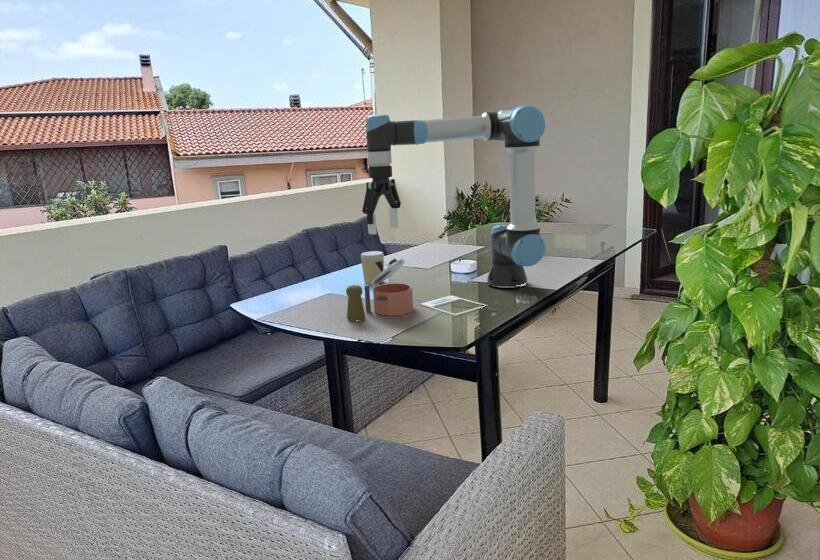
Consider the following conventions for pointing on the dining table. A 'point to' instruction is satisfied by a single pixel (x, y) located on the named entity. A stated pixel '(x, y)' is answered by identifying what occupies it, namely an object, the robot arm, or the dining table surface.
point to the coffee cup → (372, 265)
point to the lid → (388, 271)
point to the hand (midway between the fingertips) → (383, 230)
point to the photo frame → (448, 300)
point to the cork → (355, 303)
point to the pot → (390, 298)
